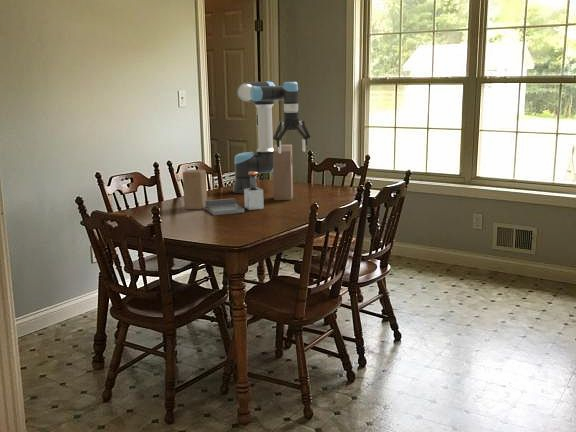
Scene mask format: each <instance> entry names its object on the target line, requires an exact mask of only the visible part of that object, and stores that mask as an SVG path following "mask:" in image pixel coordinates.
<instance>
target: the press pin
mask: <svg viewBox="0 0 576 432" xmlns="http://www.w3.org/2000/svg"><path fill="white" fill-rule="evenodd" d="M248 174H249V175H250V183H251V190H256V184H257V175H258V174H259V173H258V172H248Z"/></svg>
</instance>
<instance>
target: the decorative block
mask: <svg viewBox="0 0 576 432" xmlns="http://www.w3.org/2000/svg"><path fill="white" fill-rule="evenodd" d="M273 148H274V150H273V172H272V173H273V174H272V175H273V177H272V178H273V200H274V201H292V200H293V197H294V183H293V182H294V181H293V179H294V178H293V173H294V172H293V144H281V153H278V147H277V144H274V145H273Z"/></svg>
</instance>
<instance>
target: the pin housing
mask: <svg viewBox="0 0 576 432" xmlns="http://www.w3.org/2000/svg"><path fill="white" fill-rule="evenodd" d="M243 195H244V196H243V198H244V209H247V210H248V211H253V210H263V209H264V208H265V205H264V203H265V202H264V200H265V199H264V189H263V188H261V187H259V186H258V188H256V190H251V188H246V189H244V193H243Z"/></svg>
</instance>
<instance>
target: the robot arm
mask: <svg viewBox="0 0 576 432" xmlns="http://www.w3.org/2000/svg"><path fill="white" fill-rule="evenodd" d="M298 86H299V85H298V82H297V81H284V82H283V85H275V83H274V82H272V81H247V82H243V83H241V84H240V85H238V87H237V90H236V96H237V98H238V99H239V100H241V101H243V102H246V103H254V105H255V107H256V108H257V109H256V110H257V132H258V134H257V135H258V138H257V139H258V148H257V149H256V153H255V152H253V151H249V152H248V151H246V152H245V151H244V152H241V153H240V152H239V153H238V154H237V153H236V155H235V156H234V162H233V163H234V177H235V179H234V182H233V183H234V184H233V186H232V192H233V193H234V194H244V189H246V188H251V183H250V175H249V174H248V172H258V174H267V173H268V174H269V173H273V150H274V145H273V144H274V142H273V141H275V142H276V143H275V145H277V147H278V153H281V145H282V140H281V139H282V138H283V136H284V135H285V134H286V133H287V131H291V130H292V131H293V130H294V131H295V130H296V132H297V133H298V134H299V135H300V136H301V137H302V138H303V139H301V143H302V152H304V153H306V150H307V149H306V146H307V145H308V139H310V138H311V135H310V133H309V131H308V129H307V127H306V125H305V120H299V87H298ZM276 101H283V112H284V113H283V118H284V119H283V120H284V121H278V123H277V128H276V130H275V133H274V134H273V109H272V108H273V106H274V105H275V102H276ZM283 125H284V127H283ZM299 125H300V126H301V128H302V130H303V131H302V130H301V128H300V127H299ZM282 127H283V129H282ZM281 129H282V131H281ZM258 187H259V186H258V184H257V183H256V188H258Z"/></svg>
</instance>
